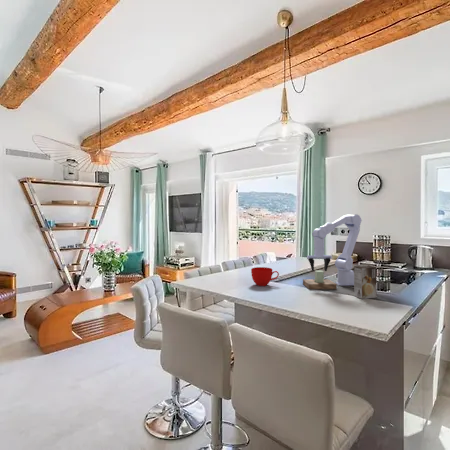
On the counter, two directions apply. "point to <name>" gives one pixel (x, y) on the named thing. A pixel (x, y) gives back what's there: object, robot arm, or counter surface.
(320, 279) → the peg
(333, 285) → the socket block
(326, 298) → the counter surface
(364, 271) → the coffee box
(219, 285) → the counter surface
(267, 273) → the ceramic cup
